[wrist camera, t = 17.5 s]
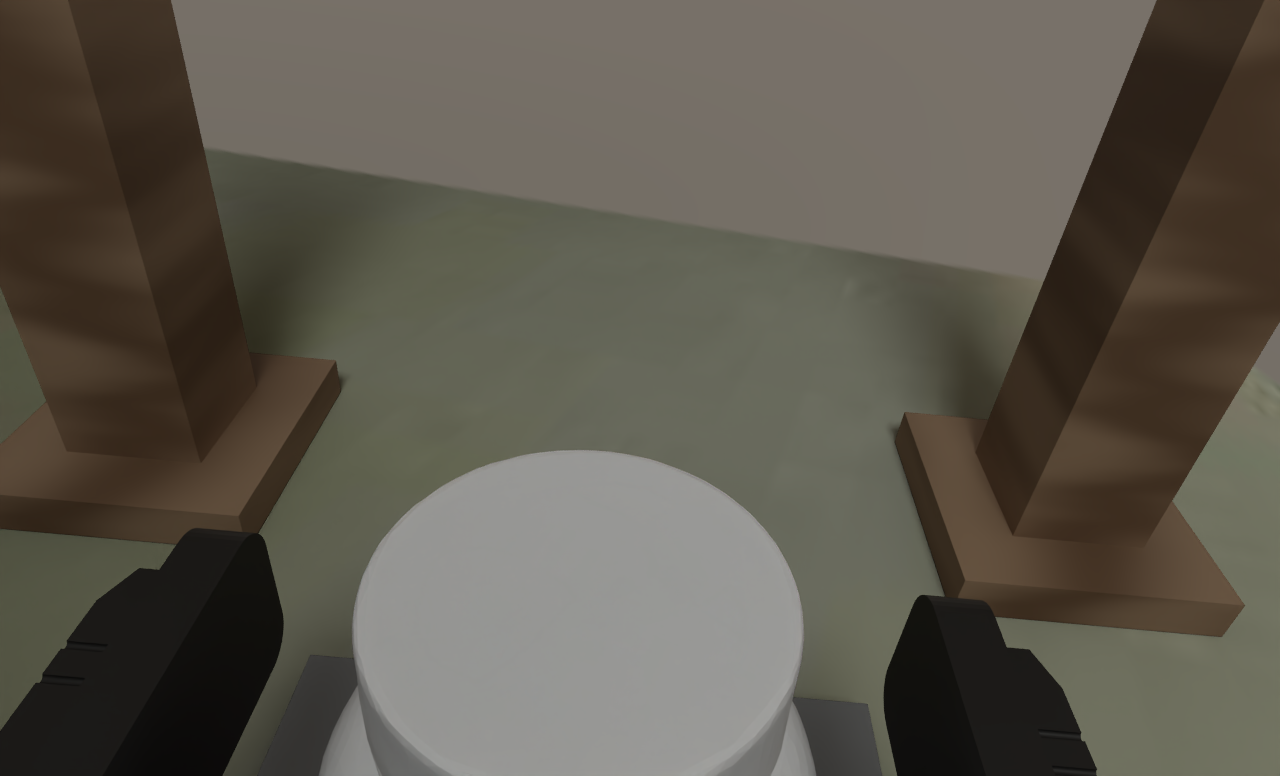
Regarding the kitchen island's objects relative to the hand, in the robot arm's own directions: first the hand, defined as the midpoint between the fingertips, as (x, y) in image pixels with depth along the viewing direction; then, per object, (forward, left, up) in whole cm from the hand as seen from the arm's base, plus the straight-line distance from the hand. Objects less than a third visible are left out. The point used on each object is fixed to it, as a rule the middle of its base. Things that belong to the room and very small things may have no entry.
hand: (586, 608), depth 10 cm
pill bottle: (+1, -2, -7) cm, 8 cm away
